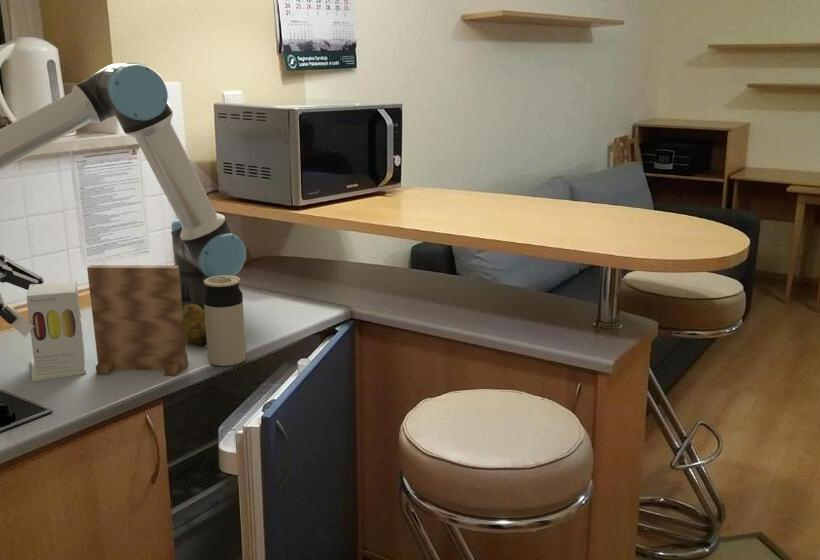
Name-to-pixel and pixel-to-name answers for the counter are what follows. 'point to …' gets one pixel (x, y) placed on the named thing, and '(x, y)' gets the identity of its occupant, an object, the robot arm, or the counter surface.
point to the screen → (137, 318)
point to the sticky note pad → (54, 375)
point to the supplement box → (56, 327)
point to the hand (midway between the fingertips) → (45, 320)
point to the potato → (194, 325)
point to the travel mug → (224, 320)
